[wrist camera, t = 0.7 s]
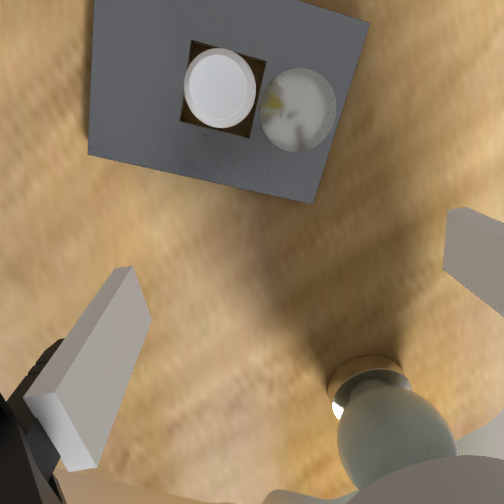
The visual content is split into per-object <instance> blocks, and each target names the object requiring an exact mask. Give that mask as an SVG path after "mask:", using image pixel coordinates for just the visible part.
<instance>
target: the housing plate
mask: <svg viewBox="0 0 504 504" xmlns="http://www.w3.org/2000/svg"><path fill="white" fill-rule="evenodd" d="M369 25H370V23H368V22H365V21H362V20H359V19H356V18H353V17H349V16H346V15H343V14H340V13H337V12H334V11H330V10H327V9H324V8H321V7H318V6H315V5H311V4H308V3H305V2H302V1H299V0H94V18H93V42H92V66H91V89H90V113H89V137H88V155H92V156H96V157H101V158H105V159H110V160H114V161H119V162H123V163H128V164H132V165H137V166H141V167H146V168H150V169H155V170H159V171H164V172H169V173H173V174H178V175H182V176H187V177H191V178H196V179H200V180H205V181H209V182H214V183H218V184H223V185H227V186H232V187H236V188H241V189H245V190H250V191H254V192H259V193H263V194H268V195H272V196H277V197H281V198H286V199H290V200H295V201H299V202H304V203H309V204H313V202H314V198H315V195H316V192H317V189H318V186H319V183H320V180H321V176H322V173H323V170H324V167H325V164H326V161H327V157H328V154H329V151H330V148H331V145H332V142H333V139H334V135H335V132H336V129H337V126H338V123H339V120H340V116H341V113H342V110H343V107H344V104H345V101H346V98H347V94H348V91H349V88H350V85H351V82H352V79H353V76H354V72H355V69H356V66H357V63H358V60H359V57H360V53H361V50H362V47H363V44H364V41H365V38H366V35H367V31H368V28H369ZM193 43H194V44H198V45H201V46H205V47H209V48H212V49H213V48H223V49H228V50H230V51H233V52H235V53H236V54H238V55H239V56H241V57H244V58H248V59H251V60H255V61H258V62H262V63H265V65H264V69H263V74H262V78H261V83H260V87H259V92H258V96H257V101H256V105H255V110H254V114H253V119H252V123H251V128H250V133H249V137H247V136H243V135H239V134H235V133H230V132H226V131H222V130H218V129H214V128H210V127H206V126H202V125H198V124H194V123H190V122H186V121H182V118H183V111H184V105H185V94H184V79H185V74H186V72H187V69H188V67H189V65H190V63H191V56H192V49H193Z"/></svg>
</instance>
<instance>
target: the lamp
mask: <svg viewBox="0 0 504 504" xmlns="http://www.w3.org/2000/svg"><path fill="white" fill-rule="evenodd" d="M328 396H329V399H330V402H331V405H332V408H333V411H334V413H335V415H336V417H337V418H338V419H339V423H338V429H337V446H338V452H339V456H340V459H341V462H342V465H343V467H344V469H345V471H346V473H347V475H348V477H349V478H350V480H351V481H352V483H353V484H354V485H355V487H356V488H357V489H358V490H359V492H358V493H357V494H356V495H355V496H354V497H352V498H351V499H350V500H349V501H348V502H347V504H504V460H501V459H498V458H492V457H486V456H472V455H462V456H458V449H457V445H456V441H455V439H454V436H453V433H452V431H451V429H450V427H449V425H448V424H447V422H446V421H445V419H444V418H443V416H442V415H441V414H440V412H439V411H438V410H437V409H436V408H435V407H434V406H433V405H432V404H431V403H430V402H429V401H427V400H426V399H425V398H423V397H422V396H420V395H418V394H417V393H415V392H413V391H412V388H411V384H410V382H409V380H408V379H407V377H406V376H405V374H404V373H403V371H402V370H401V368H400V367H399V365H398V364H397V363H396V362H394V361H393V360H391V359H389V358H387V357H383V356H377V355H368V356H362V357H358V358H355V359H352V360H350V361H348V362H346V363H345V364H343V365H342V366H341V367H339V368H338V369H337V370H336V371H335V373H334V374H333V375H332V377H331V378H330V381H329V383H328Z"/></svg>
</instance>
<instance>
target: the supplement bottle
mask: <svg viewBox="0 0 504 504" xmlns="http://www.w3.org/2000/svg"><path fill="white" fill-rule="evenodd" d="M184 94H185V99H186V102H187V104H188V106H189V108H190V110H191V112H192V113H193V114H194V115H195V116H196V117H197V118H198V119H199V120H200V121H202V122H203V123H205V124H207V125H209V126H212V127H216V128H227V127H231V126H234V125H236V124H238V123H239V122H241V121H242V120H243V119H244V118H245V117H246V116H247V115H248V114H249V112H250V111H251V109H252V107H253V104H254V101H255V96H256V83H255V78H254V75H253V72H252V70H251V68H250V67H249V65H248V64H247V62H246V61H245V60H244V59H243V58H242V57H241V56H239V55H238V54H236V53H235V52H233V51H230V50H228V49H223V48H213V49H209V50H206V51H204V52H202V53H201V54H199V55H198V56H197V57H196V58H195V59H194V60H193V61H192V62H191V64H190V65H189V67H188V69H187V72H186V74H185V79H184Z"/></svg>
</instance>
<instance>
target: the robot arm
mask: <svg viewBox="0 0 504 504" xmlns="http://www.w3.org/2000/svg"><path fill="white" fill-rule="evenodd" d="M443 270H444V271H445V272H447V273H448V274H449V275H451V276H452V277H453V278H454V279H456V280H457V281H458V282H460V283H461V284H462V285H463V286H465V287H466V288H467V289H469V290H470V291H471V292H472V293H474V294H475V295H476V296H477V297H479V298H480V299H481V300H483V301H484V302H485V303H486V304H488V305H489V306H490V307H492V308H493V309H494V310H495V311H497V312H498V313H499V314H501V315H502V316H503V317H504V223H502V222H500V221H497V220H495V219H493V218H491V217H488V216H486V215H484V214H481V213H479V212H477V211H475V210H472V209H470V208H468V207H462V208H457V209H451V210H447V222H446V235H445V247H444V260H443ZM151 321H152V319H151V316H150V313H149V311H148V308H147V305H146V302H145V299H144V296H143V294H142V291H141V288H140V285H139V282H138V279H137V277H136V274H135V271H134V268H133V266H128V267H122V268H116V269H114V270H113V272H112V273H111V275H110V276H109V277H108V279H107V280H106V282H105V283H104V284H103V286H102V287H101V289H100V290H99V291H98V293H97V294H96V296H95V297H94V298H93V300H92V301H91V303H90V304H89V305H88V307H87V308H86V310H85V311H84V312H83V314H82V315H81V317H80V318H79V319H78V321H77V322H76V324H75V325H74V326H73V328H72V329H71V331H70V332H69V333H68V335H67V336H66V338H64V339H59V340H57V341H56V342H55V343H54V344H53V345H51V346H50V347H49V348H48V349H47V350H45V351H44V353H43V354H42V355H41V357H40V358H39V359H38V361H37V362H36V365H35V366H33V367H32V368H31V370H30V371H29V372H28V376H25V378H24V379H23V380H22V382H21V383H20V384H19V386H18V387H17V388H16V390H15V391H14V392H13V394H12V395H11V396H10V397H9V399H8V400H7V401H5V399H4V398H3V396H2V395H1V393H0V504H67V503H66V501H65V498H64V495H63V493H62V491H61V488H60V485H59V483H58V480H57V479H56V478H55V476H54V474H53V471H54V469H55V467H56V465H57V463H58V461H59V459H60V458H61V460H62V462H63V463H64V465H65V466H66V468H67V470H68V471H69V472H72V471H78V470H84V469H90V468H96V467H97V466H98V463H99V461H100V458H101V455H102V452H103V450H104V447H105V444H106V442H107V439H108V436H109V434H110V431H111V428H112V426H113V423H114V420H115V417H116V415H117V412H118V409H119V407H120V404H121V401H122V399H123V396H124V393H125V391H126V388H127V385H128V382H129V380H130V377H131V374H132V372H133V369H134V366H135V364H136V361H137V358H138V356H139V353H140V350H141V347H142V345H143V342H144V339H145V337H146V334H147V331H148V329H149V326H150V323H151Z"/></svg>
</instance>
